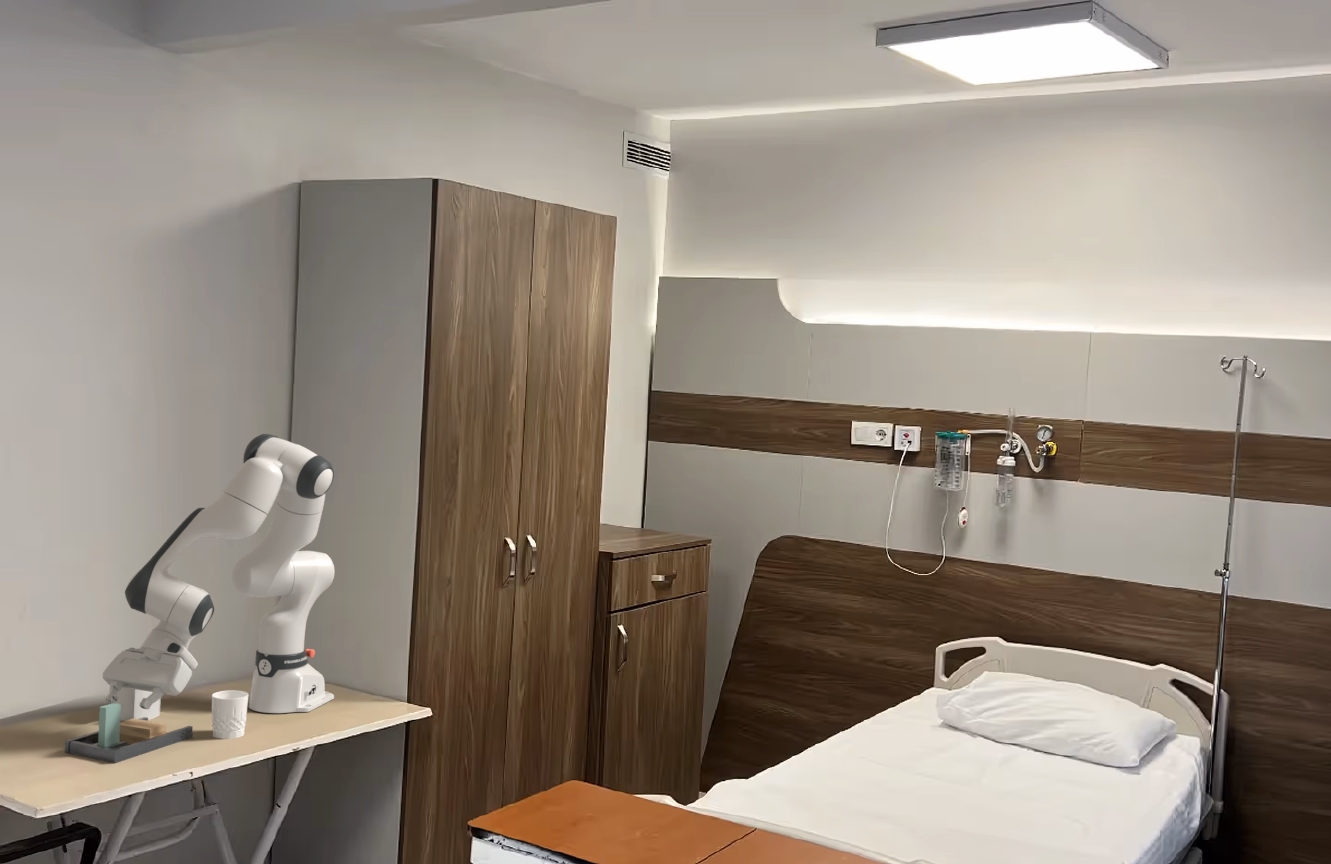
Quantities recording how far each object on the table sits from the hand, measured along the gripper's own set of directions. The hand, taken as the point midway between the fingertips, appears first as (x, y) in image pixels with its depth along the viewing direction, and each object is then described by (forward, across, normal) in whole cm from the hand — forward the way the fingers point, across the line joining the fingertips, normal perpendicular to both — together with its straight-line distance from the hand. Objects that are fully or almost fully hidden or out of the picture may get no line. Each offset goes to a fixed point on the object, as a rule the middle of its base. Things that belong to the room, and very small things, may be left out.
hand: (126, 704), depth 264 cm
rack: (+6, -1, +9) cm, 11 cm away
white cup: (-6, +11, +21) cm, 25 cm away
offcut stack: (+3, -1, +10) cm, 11 cm away
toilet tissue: (-8, -17, +22) cm, 29 cm away
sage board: (+9, -1, +4) cm, 10 cm away
